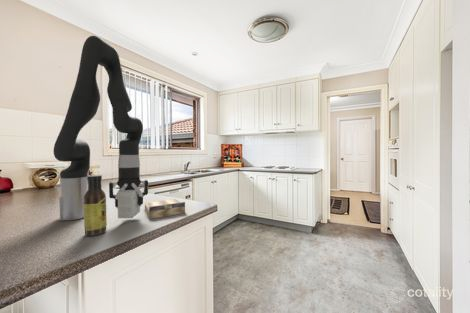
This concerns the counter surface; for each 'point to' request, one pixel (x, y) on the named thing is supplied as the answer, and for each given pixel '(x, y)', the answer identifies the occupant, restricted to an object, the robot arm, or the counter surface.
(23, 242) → the counter surface
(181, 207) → the brown patterned flat box
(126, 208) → the small box
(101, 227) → the sauce bottle
